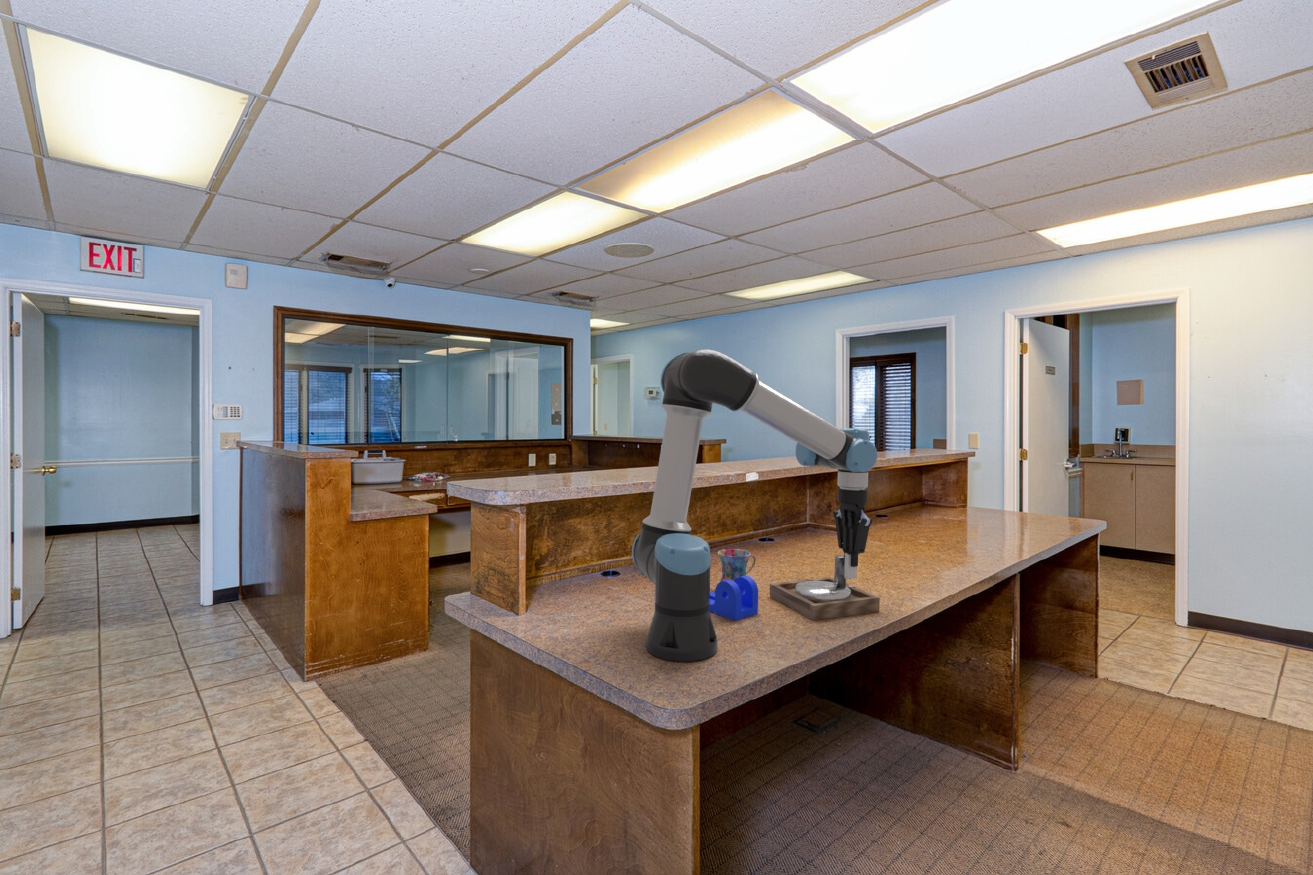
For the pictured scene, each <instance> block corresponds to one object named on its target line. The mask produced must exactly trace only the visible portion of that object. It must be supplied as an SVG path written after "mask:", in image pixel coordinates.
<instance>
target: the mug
mask: <svg viewBox="0 0 1313 875" xmlns="http://www.w3.org/2000/svg"><path fill="white" fill-rule="evenodd" d="M717 555H718V557H719V560H720V564H721V578H720V581H719V582H722V581H725V580H732V581H734V580H735V579H736V578H738V577H741V576H747V575H748V574H749V573H750V572H751V571H752V569H753V568H754V567H755V564H756V560H757V559H756V556H755V555H752V554H751V552H750V551H748V550H745V549H737V548H726V549H720V550H718V551H717ZM750 557H752V558H753V560H752V561H753V562H752V564H751V566H750V568H749V569H747V566H748V563H749V559H750Z"/></svg>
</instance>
